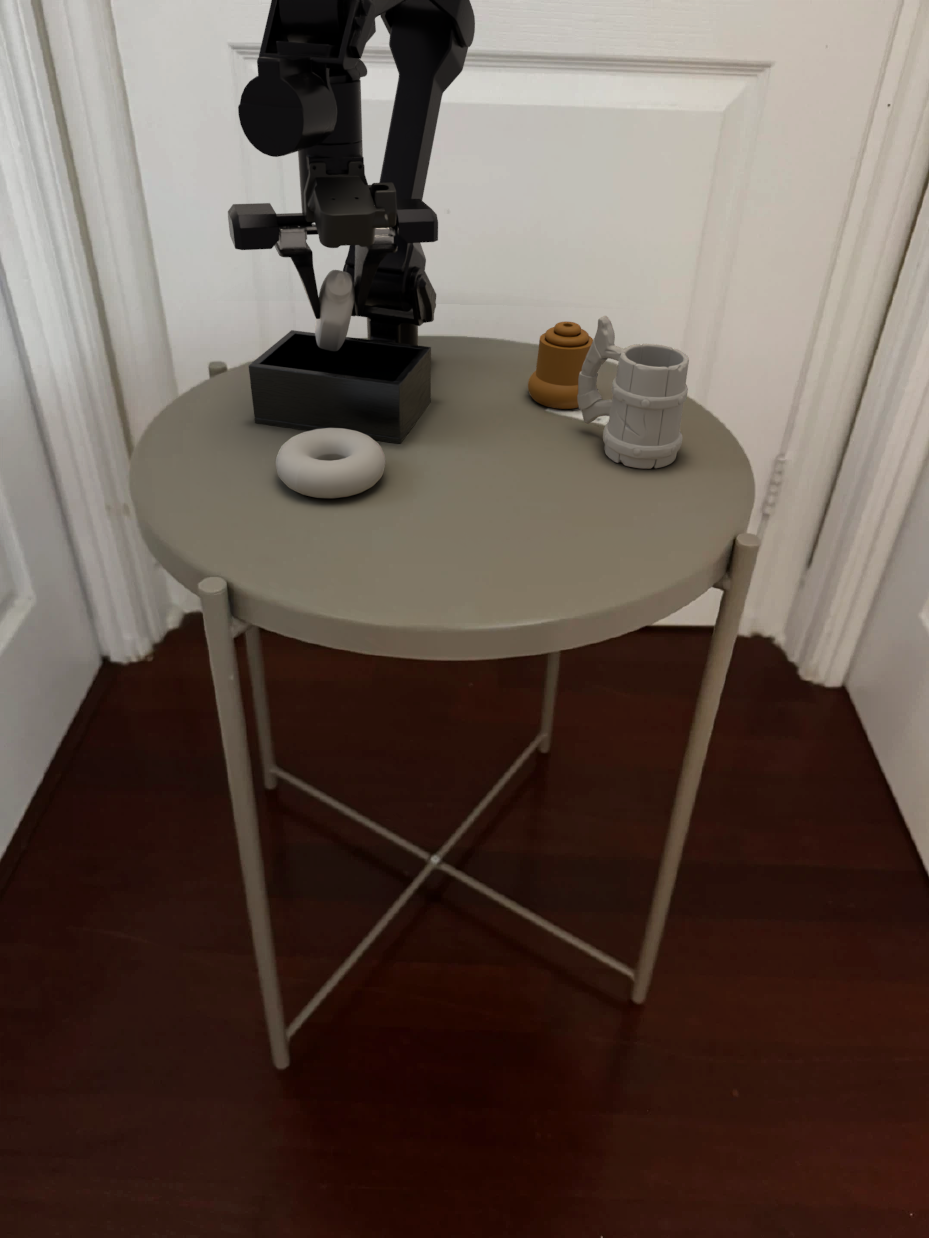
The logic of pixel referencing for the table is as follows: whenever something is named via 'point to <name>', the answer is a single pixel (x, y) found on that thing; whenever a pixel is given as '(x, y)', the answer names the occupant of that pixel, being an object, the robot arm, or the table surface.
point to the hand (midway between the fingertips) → (338, 316)
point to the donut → (330, 463)
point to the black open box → (342, 386)
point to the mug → (636, 399)
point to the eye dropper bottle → (334, 310)
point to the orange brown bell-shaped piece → (559, 366)
